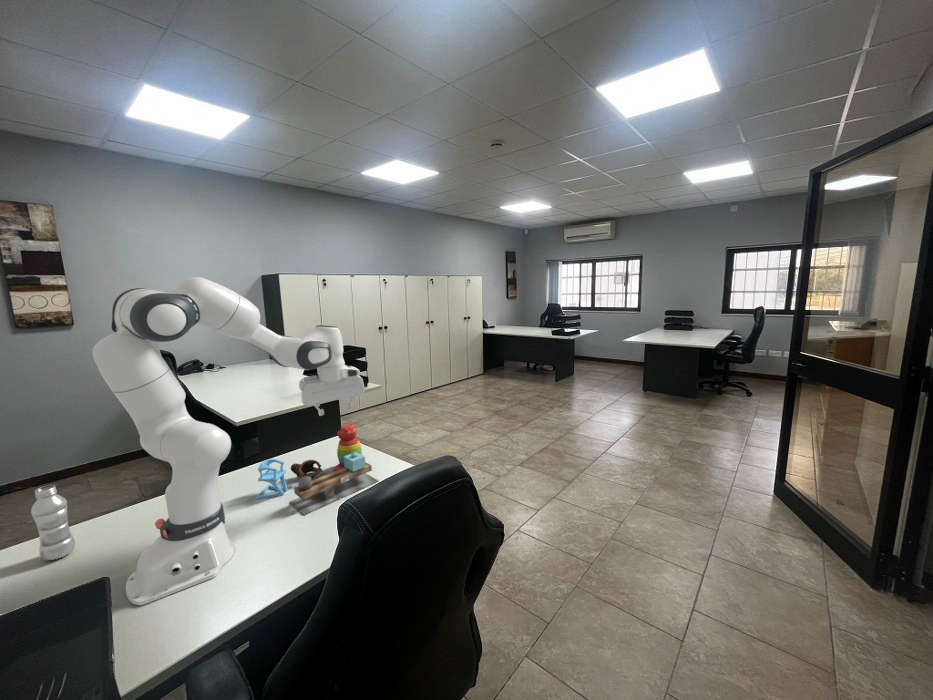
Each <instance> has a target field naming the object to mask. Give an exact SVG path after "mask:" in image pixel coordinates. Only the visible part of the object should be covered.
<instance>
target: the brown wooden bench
mask: <svg viewBox="0 0 933 700" xmlns="http://www.w3.org/2000/svg"><path fill="white" fill-rule="evenodd" d="M365 466H366V467H364V468H362V469H359V470H357V471H354V472H353V471H349V469H348V468H346V467H345V468H343V469H340V470H337V471H335V472H334V471H332V472H330V473H328V474H326V475H323V476H320V477H317V478H316V479H315V480H312V481H311V477H309V476H306V475H305V476H306V477H302V478H301V477H299V479H298V480H297V484H298V485H297V486H295V487H293V491H294V492H293V493H294V494H295V495H296V496H298V497H297V498H295V499H292V500H290V501H289V504H290V505H291V506H293V507H294V509H296V510H297V512H298V511H299V513H301V515H303V516H306V515H308V514H311V513H313V512H315V511H317V510H319V509H322V508H324V507H326V506H328V505H330V504H333V503H335V502H337V501H340V500H341V499H340V498H342V497H344V498H346V497H348V496H350V495H352V494H355V493H357V492H359V491H361V490H363V489H366V488H368V487H370V486H372V485H374V484H377V483H378V482H379V481H380V480H378V479H376V478H375V477H373V476H371V475H369V474H368V473H369V472H371V471H373V470H372V469H373V468H372V465H371V464H369V462H368V463H367V462H366V461H365ZM342 499H343V498H342ZM336 500H337V501H336Z"/></svg>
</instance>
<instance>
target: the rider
mask: <svg viewBox="0 0 933 700" xmlns="http://www.w3.org/2000/svg"><path fill="white" fill-rule="evenodd" d="M365 462H366V457H365V455H361V454H359V453H357V452H355V453H352V454H349V455H346V456H344V465H345V467H346V468H348V469H349V471H353V472H354V471H357V470H359V469H362V468H364V467H366V466H365Z"/></svg>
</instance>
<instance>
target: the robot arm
mask: <svg viewBox="0 0 933 700" xmlns="http://www.w3.org/2000/svg"><path fill="white" fill-rule="evenodd" d="M111 314H112V315H111V329H112V331H113V333H110V334H108V335H107V336H104V337H103V338H102V339H100V340H99V341H98V342H96V343H95V344H94V347H93V348H92V357H93V361H94V362H95V365H96V367H97V369H98V372H99V373H100V374H101V376H102V378H103V380H104V381H105V383H106V385H107V386H108V387H109V389H110V390H111V392H112V393H113V394H114V395H115V398H116V399H118V401H119V402H120V404H121V405H122V406H123V408H124V409H125V411H126V412H127V413H128V415H129V416H130V417H131V419H132V421H133V423H134V425H135V428H136V430H137V432H138V435H139V443H140V445H141V446H140V447H142V449H143V450H144V451H145V452H147V453H148V455H150V456H151V457H153V458H154V459H158V460H161V461H164V462H168V463H169V464H170V466H171V468H172V475H171V482H170V484H168V486H166V488H165V490H164V491H165V492H164V496H165V503H166V508H167V515H168V518H167V519H166V520H165V519H164V518H159V519H157V520H156V521H155V523H154V526H155V528H156V529H157V530H159V533H160V536H159V537H158V538H157V539H156V540H155V541H154V542H152V544H151V545H150V546H148V547H147V548H146V550H144V551H143V552H142V553H141V554H140V555H139V558H137V559H138V561H137V564H136V567H135V568H136V569H135V570H134V572H132V573H131V574H130V575H129V577H128V578H127V580H126V583H125V595H126V598H127V600H128V601H129V602H130V603H131V604H133V605H136V606H144V605H147V604H149V603H151V602H154V601H157V600H160V599H162V598H165V597H167V596H169V595H173V594H175V593H177V592H180V591H183V590H185V589H188V588H191V587H193V586H195V585H196V586H197V585H198V584H201V583H204V582H206V581H209V580H211V579H214V578H215V577H216V576H217V575H218V574H219V573H220V571H221V569H222V568H223V567H224V565H225V564H227V563H228V562H229V561H230V560H231V558H232V557H233V556H234V553H235V546H234V544H232V541H231V539H230V537H229V535H228V531H227V529H226V525H225V524H226V512H225V507H224V505H223V503H222V501H221V497H220V495H221V494H220V488H219V487H220V486H219V485H220V484H219V473H220V467H221V464H222V463H224V461H225V460H226V459H227V457H228V455H229V454H230V452H231V450H232V449H231V448H232V440H231V437H230V435H229V434H228V433H227V432H226V431H225V430H223V429H221V427H219V426H217V425H215V424H213V423H209V422H208V423H207V422H203V421H199V420H196V419H194V418H193V417H192V416H191V415H190V414H189V412H188V410H187V407H186V403H185V400H186V396H187V394H186V392H185V389H184V388H183V387H182V385H181V383H180V382H179V380H178V379H177V377H176V376H175V374H174V372H173V371H172V370H171V368H170V366H169V365H168V362H166V360H165V359H164V358H163V356H162V354H161V353H162V352H161V351H160V343H165V342H172V341H176V340H178V339H180V338H181V337H183V336H184V335H185V334H187V333H188V332H189V331H190V329H191V328H193V327H194V326H196V324H200V325H202V326H204V327H206V328H208V329H211V330H212V331H214V332H216V333H219V334H221V335H224V336H227V337H229V338H233V339H237V340H242V341H245V342H247V343H249V344H251V345H252V346H255V347H256V348H258V349H260V350H262V351H264V352H265V353H267V354H268V355H269V356H270V358H271V359H272V360H273V362H274V363H276V364H277V366H279V367H283V368H293V369H297V370H303V371H304V370H305V371H310V370H315V369H316V371H317V374H316V375H311V376H305V377H303V378H302V379H301V380H299V382H298V383H299V384H298V386H299V390H300V392H301V403H302V404H303V406H307V407H308V406H312V405H313V406H314V407H315V409H317V412H318V416H319V417H321V416H325V410H324V409H323V408H321V409H320V408H319V407H320V406H321V405H320V404H323V403H328V402H333V401H337V400H343V399H348V398H349V402H348V403H346V409H347V411H349V410H353V403H354V402H355V400H356V398H355V397H356V396H357V397H358V396H362V395H364V393H365V384H364V379H363V377H361V376H360V375H361V371H360V369H358V368H357V367H355V366H352V365H346V362H345V359H344V356H343V354H344V342H343V337H342V333H341V330H340V329H339V328H338V327H337V326H335V325H325V324H318V325H315V326H314V328H313V329H312V330H311V332H309V333H308V334H307V335H305V336H303V337H301V338H300V337H294V336H291V335H290V336H289V335H280V334H277V333H276V332H274V331H273V330H271V329H269V328H268V327H265V326H264V325H263V324H261V313H260V310H259V308H258V306H256V305H255V304H253V303H252V302H251V301H250V300H248V299H247V298H245V297H244V296H242V295H241V294H239V293H237V292H236V291H233V290H232V289H230V288H228V287H226V286H224V285H221V284H219V283H217V282H214V281H212V280H209V279H206V278H205V277H200V276H192V277H189V278H186V279H185V280H184V281H181V283H180V284H179V285H178V286H177V288H176V289H175V290H174V291H172V292H165V291H162V290H159V289H153V288H145V287H137V288H131V289H128V290H125V291H124V292H122V293H120V294H119V295H118V296H117V297H116V299H114V302H113V305H112V312H111Z"/></svg>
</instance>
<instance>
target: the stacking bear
mask: <svg viewBox="0 0 933 700" xmlns="http://www.w3.org/2000/svg"><path fill="white" fill-rule="evenodd" d="M357 433H358V432H357V428H356V427H355V426H354V425H353V423H351V422H349V424H345V425H343V426H341V427H340V429H339V430H338V431H337V433H336V434H337V437H338V439H339V441H338V445H337V450H336V451H337V453H336V455H337V459H338V462H339V463H338V464H336V465H335V466H334V467H333V468H332V472H335V471H337V470H340V469H343V468H345V465H344V456H346V455H349V454H352V453H355V452H357V453H359V454H361V455H362V454H363V452H362V445H361V442H360V440H359V439H358V437H357Z"/></svg>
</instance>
